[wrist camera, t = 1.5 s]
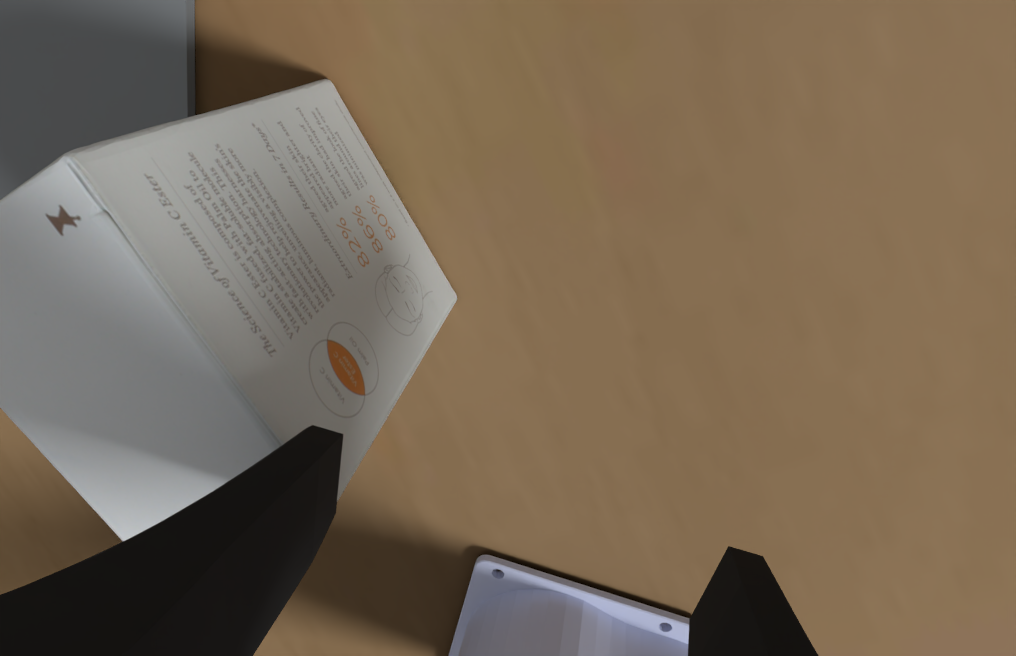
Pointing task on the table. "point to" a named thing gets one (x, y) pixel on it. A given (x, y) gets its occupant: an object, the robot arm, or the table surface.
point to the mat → (88, 75)
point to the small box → (209, 301)
